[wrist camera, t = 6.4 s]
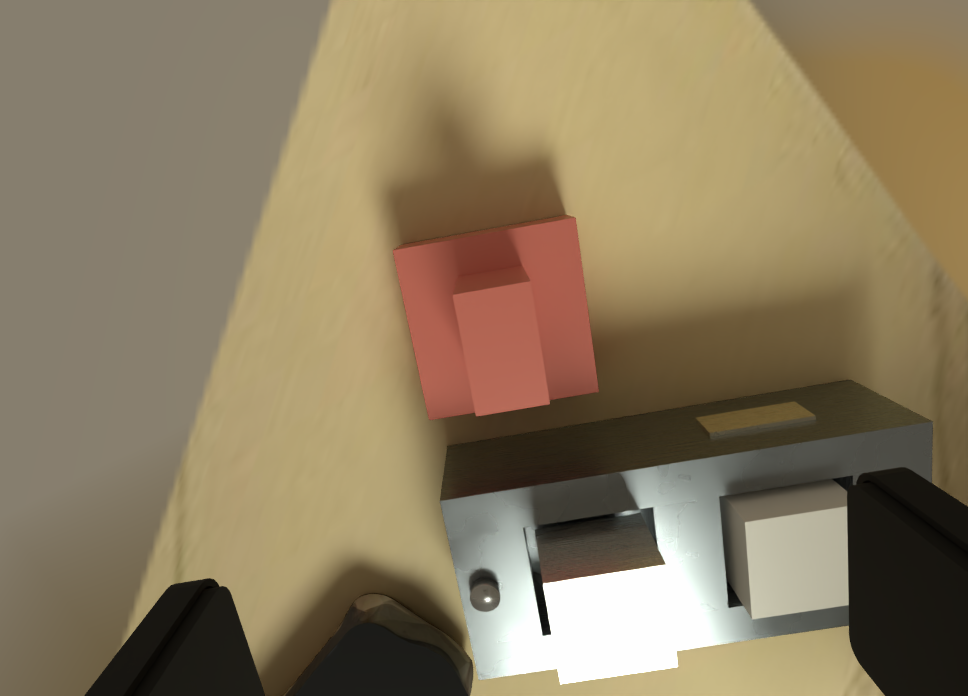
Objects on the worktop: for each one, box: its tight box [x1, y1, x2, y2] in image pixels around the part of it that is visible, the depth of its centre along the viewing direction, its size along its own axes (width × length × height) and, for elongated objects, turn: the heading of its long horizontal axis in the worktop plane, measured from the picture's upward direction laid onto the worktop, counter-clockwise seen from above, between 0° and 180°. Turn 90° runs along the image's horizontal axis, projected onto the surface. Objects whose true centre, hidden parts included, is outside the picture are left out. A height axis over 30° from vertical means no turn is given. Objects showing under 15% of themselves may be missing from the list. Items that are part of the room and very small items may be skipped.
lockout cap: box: [393, 215, 599, 420], centre depth 27 cm, size 8×8×8 cm
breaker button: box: [719, 479, 849, 619], centre depth 28 cm, size 5×5×4 cm
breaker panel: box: [440, 380, 933, 684], centre depth 29 cm, size 10×22×10 cm, turn 100°
